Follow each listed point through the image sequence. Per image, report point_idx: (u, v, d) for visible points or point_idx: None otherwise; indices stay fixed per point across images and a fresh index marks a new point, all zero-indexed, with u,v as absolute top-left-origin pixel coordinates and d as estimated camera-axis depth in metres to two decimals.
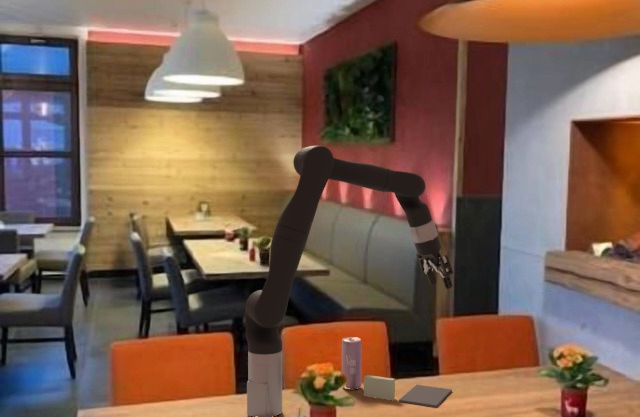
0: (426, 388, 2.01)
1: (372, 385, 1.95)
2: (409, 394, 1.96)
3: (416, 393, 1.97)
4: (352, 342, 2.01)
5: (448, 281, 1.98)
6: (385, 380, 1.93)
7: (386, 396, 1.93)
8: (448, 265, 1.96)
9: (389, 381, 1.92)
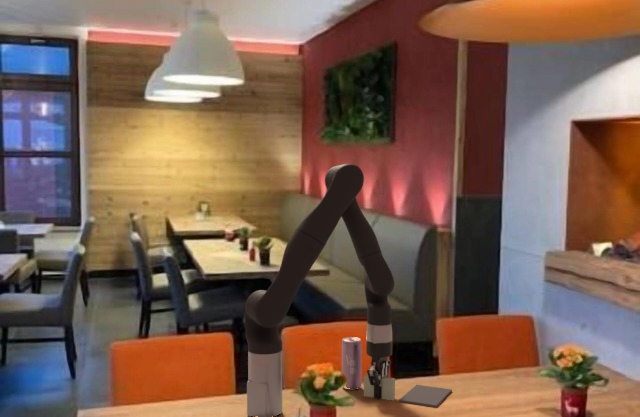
0: (426, 388, 2.01)
1: None
2: (409, 394, 1.96)
3: (416, 393, 1.97)
4: (352, 342, 2.01)
5: (375, 391, 1.93)
6: (385, 380, 1.93)
7: (386, 396, 1.93)
8: (374, 379, 1.90)
9: (389, 381, 1.92)
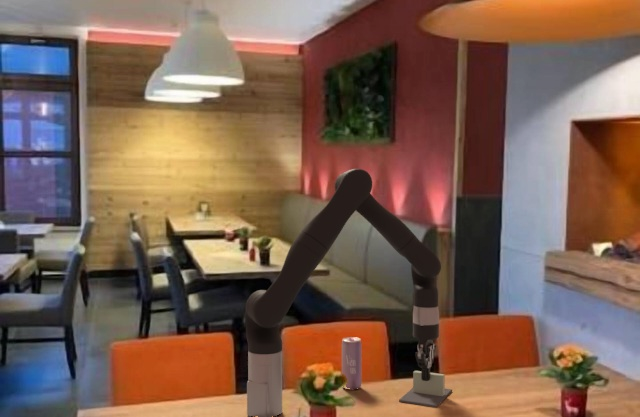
0: None
1: (422, 380, 1.97)
2: (409, 394, 1.96)
3: (416, 393, 1.97)
4: (352, 342, 2.01)
5: (423, 373, 1.93)
6: (435, 375, 1.95)
7: (436, 391, 1.95)
8: (422, 362, 1.90)
9: (439, 376, 1.94)
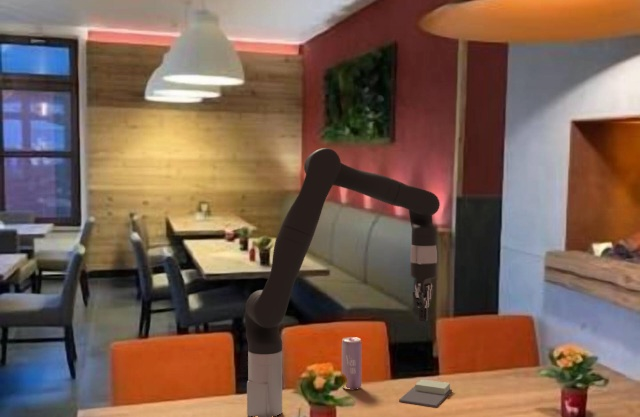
0: None
1: (427, 382, 2.02)
2: (409, 394, 1.96)
3: (416, 393, 1.97)
4: (352, 342, 2.01)
5: (421, 313, 1.91)
6: (442, 382, 2.02)
7: (439, 386, 1.97)
8: (420, 300, 1.88)
9: (446, 383, 2.01)
